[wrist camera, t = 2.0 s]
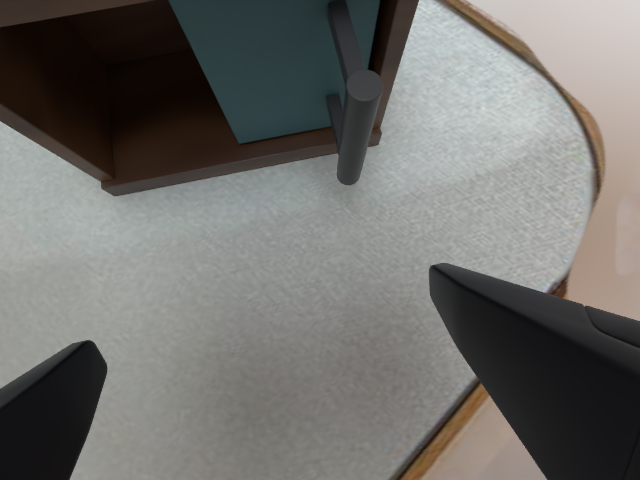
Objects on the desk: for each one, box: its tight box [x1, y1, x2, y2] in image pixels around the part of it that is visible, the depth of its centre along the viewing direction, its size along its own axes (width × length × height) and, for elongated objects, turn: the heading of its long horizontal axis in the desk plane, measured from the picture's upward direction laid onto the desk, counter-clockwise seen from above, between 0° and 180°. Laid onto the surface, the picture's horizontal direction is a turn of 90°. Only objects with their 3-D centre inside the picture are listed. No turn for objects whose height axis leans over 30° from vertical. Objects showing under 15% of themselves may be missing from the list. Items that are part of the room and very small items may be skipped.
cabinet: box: [0, 0, 419, 196], centre depth 18 cm, size 11×20×15 cm, turn 102°
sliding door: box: [168, 0, 383, 185], centre depth 17 cm, size 6×9×11 cm
